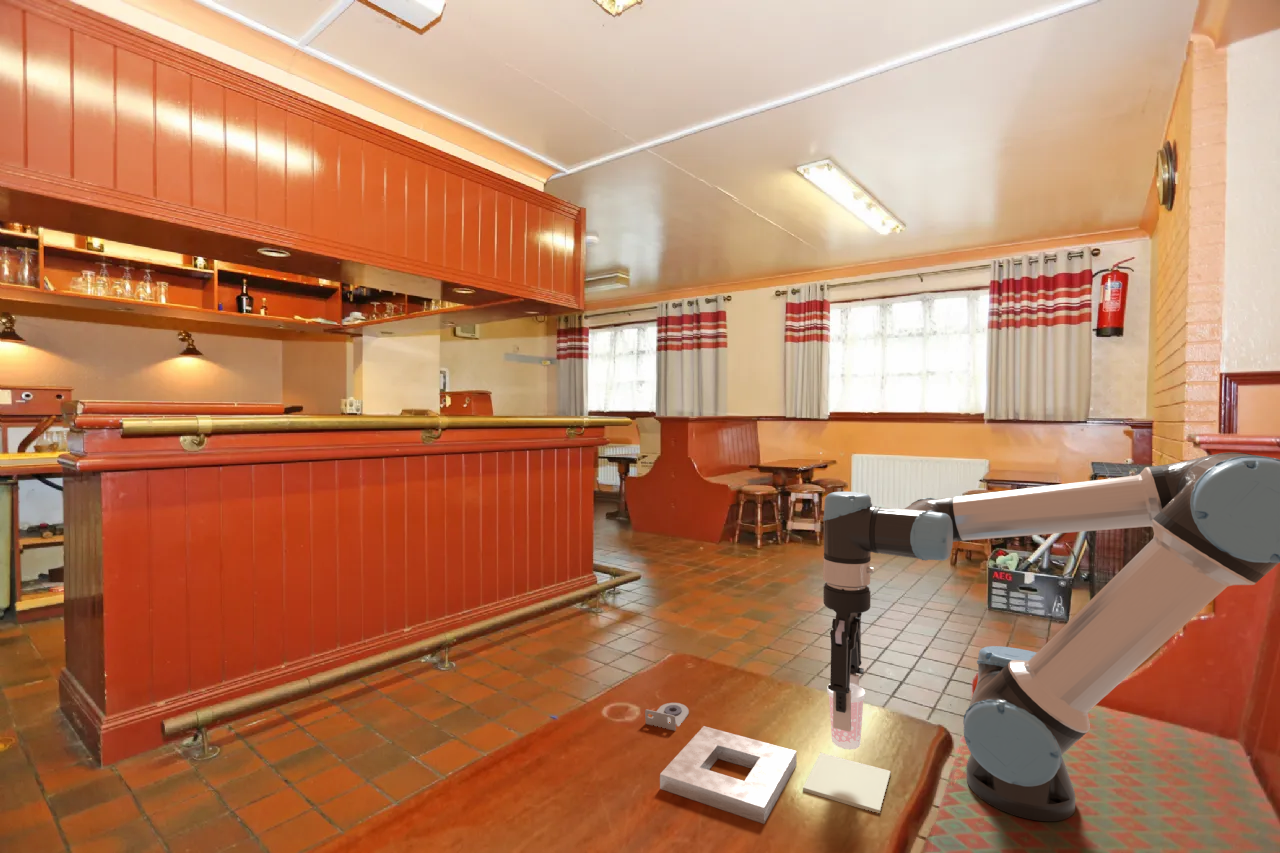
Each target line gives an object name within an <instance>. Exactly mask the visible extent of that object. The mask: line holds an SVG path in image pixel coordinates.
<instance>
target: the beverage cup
mask: <svg viewBox="0 0 1280 853" xmlns="http://www.w3.org/2000/svg"><path fill="white" fill-rule="evenodd" d="M828 685H830V683H829V684H828ZM828 685H827V695H828V698H829V699H828V702H829V713H830V714H829V716H830V733H831V742H832V743H833V744H834V745H835V746H837V747H838V748H842V749H844V750H856V749H859V748H860V747H861V742H862V740H861V739H862V738H861V737H862V725H863V713H864V700H865V699H866V690H865V688H863V687H862V686H860V685H859V686H858V685H856V684H853V683H850V687H849V688H850V690H851V731H850V732H848V731H844V730H840V729H836V728H833V691H831V690H830V689H828Z"/></svg>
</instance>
